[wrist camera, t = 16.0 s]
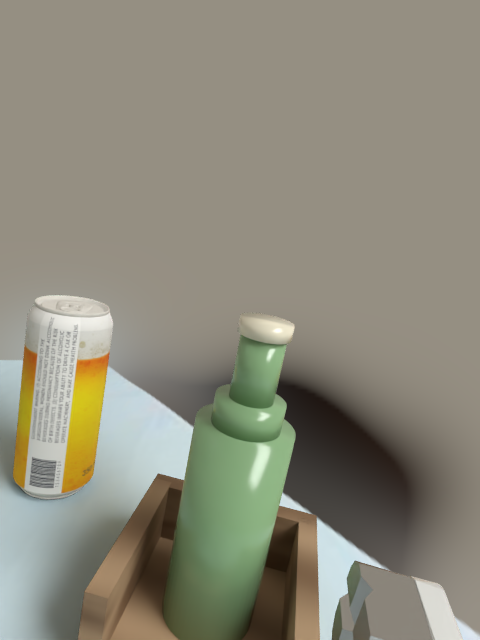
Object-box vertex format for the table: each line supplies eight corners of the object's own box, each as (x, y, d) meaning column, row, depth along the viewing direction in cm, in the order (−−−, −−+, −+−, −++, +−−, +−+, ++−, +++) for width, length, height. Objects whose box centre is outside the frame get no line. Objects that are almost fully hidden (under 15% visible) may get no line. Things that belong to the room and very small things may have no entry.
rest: (302, 770, 20) (327, 684, 19) (57, 689, 22) (68, 604, 21) (304, 574, 32) (320, 514, 31) (145, 529, 33) (155, 470, 32)
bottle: (142, 613, 25) (193, 311, 22) (195, 558, 30) (245, 303, 26) (222, 671, 23) (297, 344, 19) (266, 602, 28) (333, 328, 24)
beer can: (96, 462, 40) (117, 301, 37) (86, 505, 35) (111, 320, 31) (23, 457, 39) (39, 290, 36) (1, 502, 33) (18, 307, 30)
